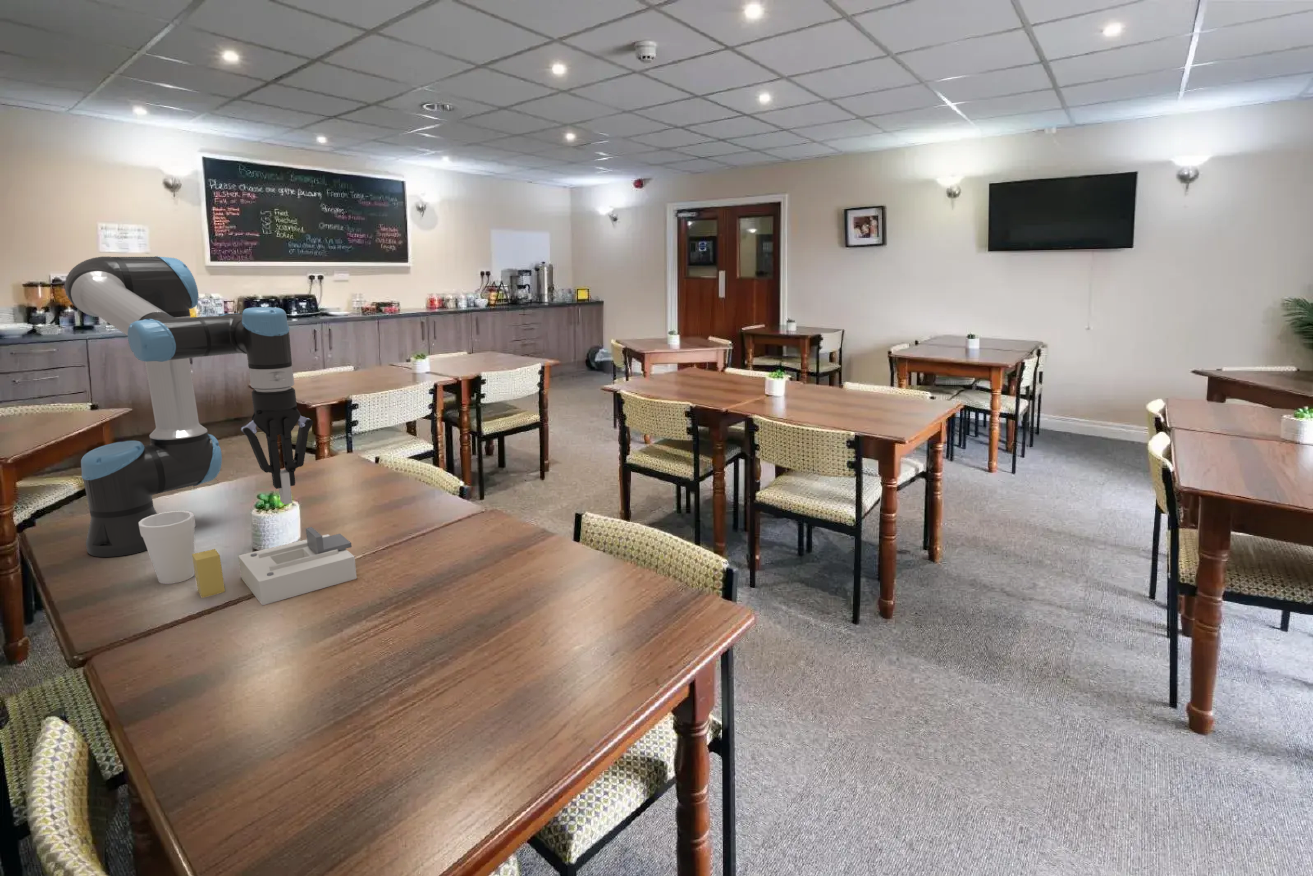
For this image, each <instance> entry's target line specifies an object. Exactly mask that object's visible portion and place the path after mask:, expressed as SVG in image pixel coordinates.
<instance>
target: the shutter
mask: <svg viewBox="0 0 1313 876" xmlns="http://www.w3.org/2000/svg"><path fill="white" fill-rule="evenodd" d="M305 535H306V539H307V544H308V546H309V547H310V548H311V549H312V550H313V551H314V552H315V553H316V554H320V553H324V552H328V551H332V550H336V549H337V550H338V551H339V550H342V549H346V550H347V549H349V548H350V549H351V548H352V542H351V541H349V539H347V538H346V537H345V536H343V535H342V534H341V533H336V534H332V535H330V536H328V537H323V538H322V536H323V535H322V534H321V533H320V532H319V531H317V530H316V529H315V528H313V526H310V527H306V528H305Z"/></svg>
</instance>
